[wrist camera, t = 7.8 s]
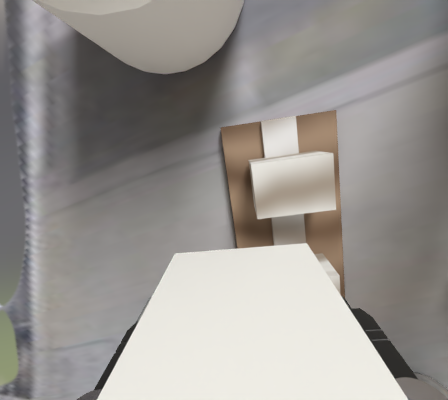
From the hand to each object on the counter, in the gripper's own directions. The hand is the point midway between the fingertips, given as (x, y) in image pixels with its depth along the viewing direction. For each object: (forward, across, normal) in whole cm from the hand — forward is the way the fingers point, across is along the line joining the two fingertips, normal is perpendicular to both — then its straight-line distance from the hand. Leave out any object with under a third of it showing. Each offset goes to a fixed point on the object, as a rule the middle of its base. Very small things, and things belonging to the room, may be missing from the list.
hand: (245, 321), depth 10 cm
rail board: (+21, -5, +4) cm, 22 cm away
